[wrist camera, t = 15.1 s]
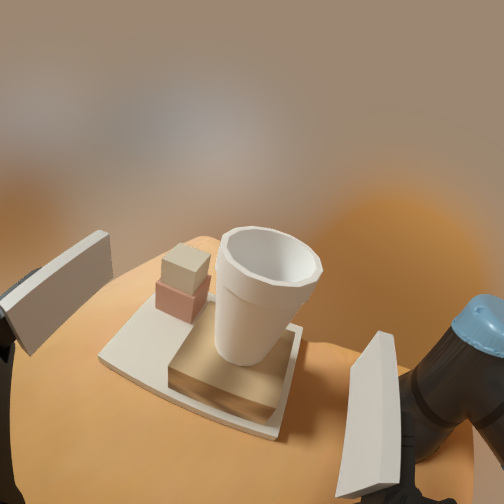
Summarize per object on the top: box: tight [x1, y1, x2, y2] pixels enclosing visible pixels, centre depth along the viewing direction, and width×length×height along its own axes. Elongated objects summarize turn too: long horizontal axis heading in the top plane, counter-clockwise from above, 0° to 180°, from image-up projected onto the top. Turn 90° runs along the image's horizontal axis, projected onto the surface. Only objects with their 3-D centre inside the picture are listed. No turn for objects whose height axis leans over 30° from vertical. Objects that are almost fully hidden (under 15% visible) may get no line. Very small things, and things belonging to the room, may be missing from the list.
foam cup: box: [215, 226, 323, 366], centre depth 27 cm, size 10×9×13 cm
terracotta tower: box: [155, 243, 211, 324], centre depth 38 cm, size 6×6×9 cm
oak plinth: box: [168, 301, 296, 425], centre depth 31 cm, size 12×12×5 cm
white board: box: [97, 291, 303, 441], centre depth 36 cm, size 24×20×2 cm
